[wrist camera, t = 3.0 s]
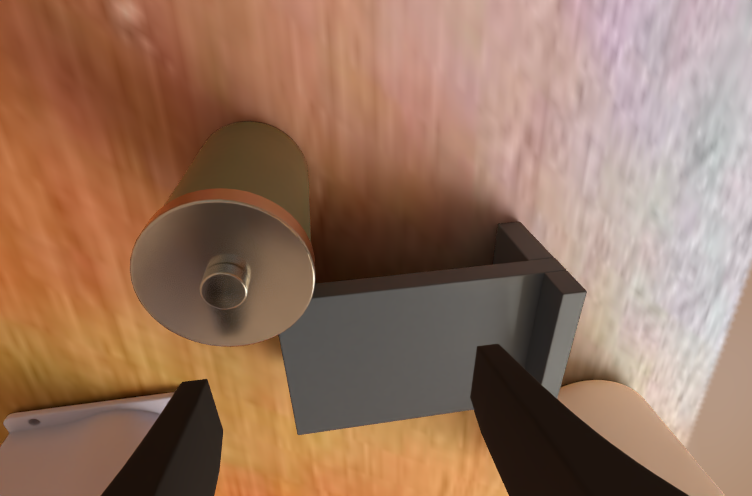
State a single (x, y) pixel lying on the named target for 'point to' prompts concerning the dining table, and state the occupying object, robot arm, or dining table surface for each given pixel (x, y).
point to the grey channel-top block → (428, 336)
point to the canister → (231, 241)
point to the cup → (637, 432)
